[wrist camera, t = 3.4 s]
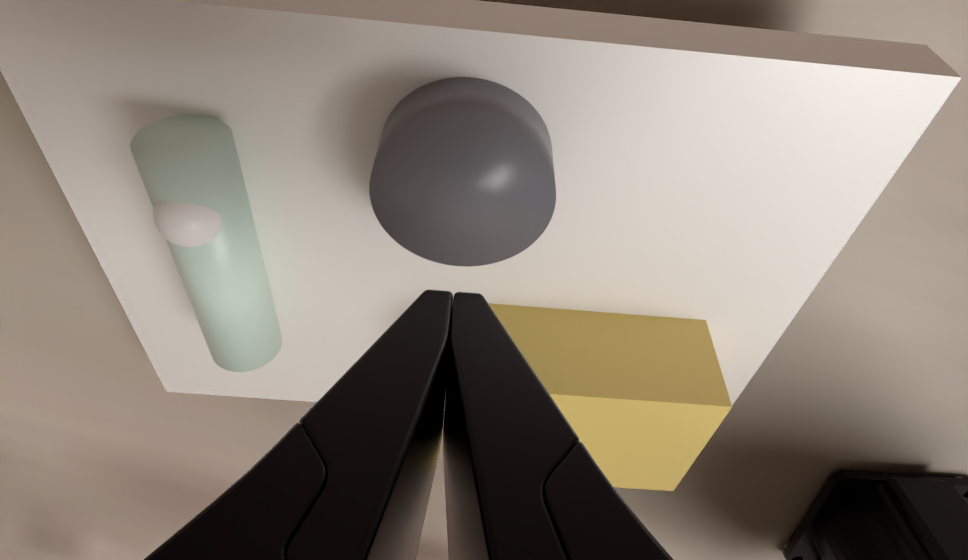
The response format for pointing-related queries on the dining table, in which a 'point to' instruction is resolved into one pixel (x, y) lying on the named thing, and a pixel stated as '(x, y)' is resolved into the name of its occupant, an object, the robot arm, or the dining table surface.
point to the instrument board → (628, 185)
